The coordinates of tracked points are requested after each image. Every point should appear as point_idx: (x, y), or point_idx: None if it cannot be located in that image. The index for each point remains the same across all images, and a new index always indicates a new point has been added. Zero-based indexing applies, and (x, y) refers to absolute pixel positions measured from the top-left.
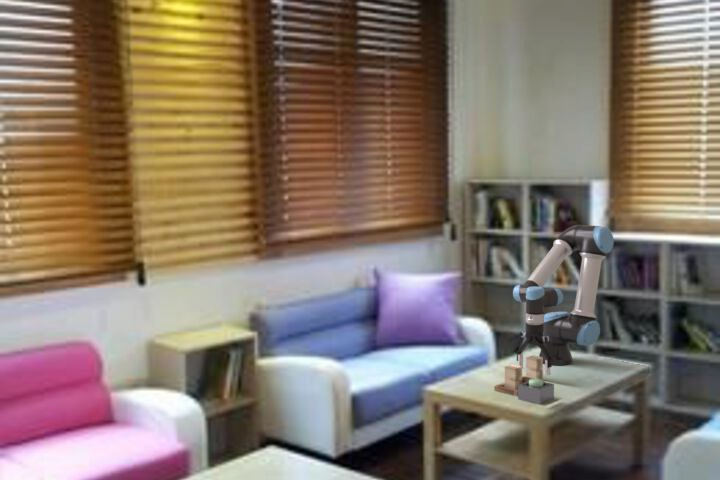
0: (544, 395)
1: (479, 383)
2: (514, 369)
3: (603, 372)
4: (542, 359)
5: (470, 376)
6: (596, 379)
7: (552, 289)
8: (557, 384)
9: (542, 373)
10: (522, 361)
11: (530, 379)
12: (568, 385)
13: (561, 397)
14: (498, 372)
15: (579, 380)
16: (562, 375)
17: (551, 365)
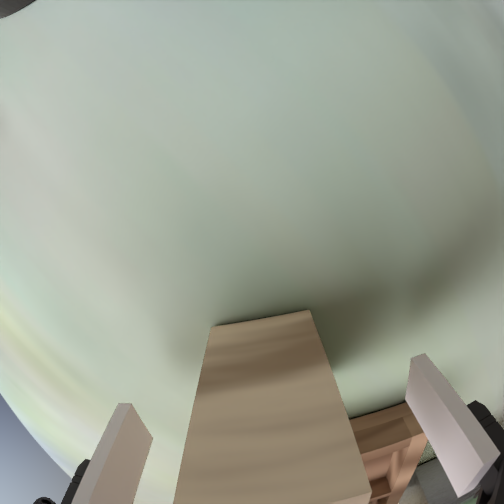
0: None
1: (155, 496)
2: None
3: None
4: (364, 469)
5: (61, 456)
6: (485, 18)
7: None
8: (438, 289)
9: (321, 344)
10: (113, 457)
11: None
12: (487, 247)
13: (499, 392)
14: (24, 364)
15: (469, 90)
16: (309, 52)
17: (486, 414)
